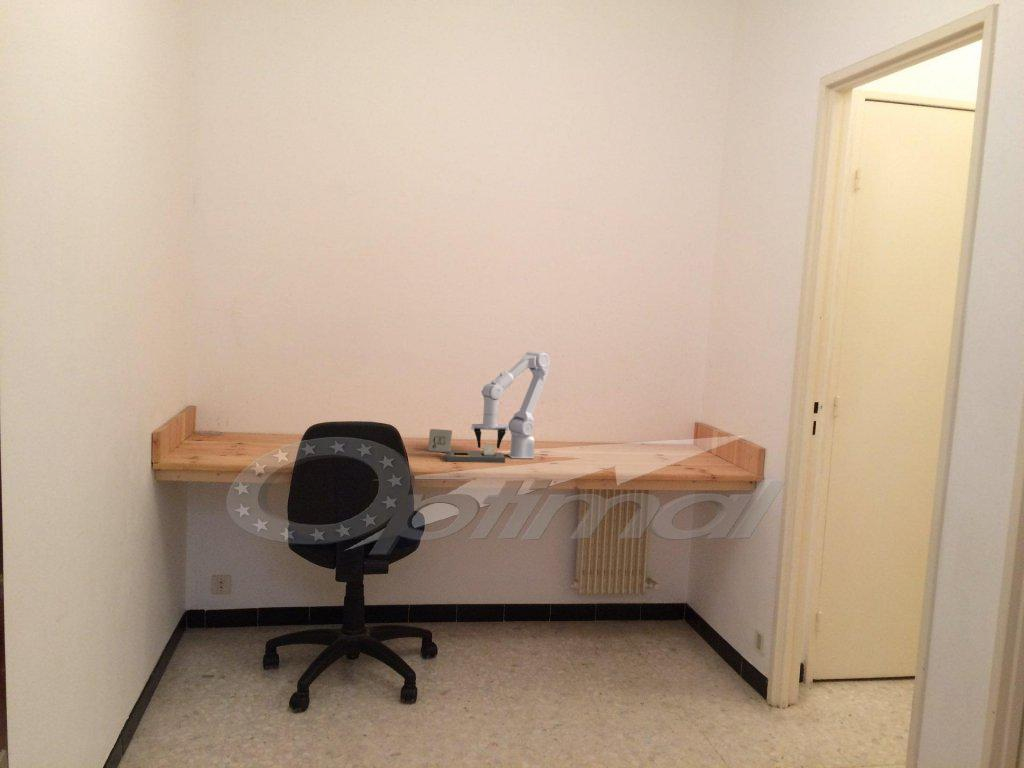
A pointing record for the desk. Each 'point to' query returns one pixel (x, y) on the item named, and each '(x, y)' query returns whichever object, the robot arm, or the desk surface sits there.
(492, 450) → the peg
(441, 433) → the electrical switch
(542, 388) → the robot arm
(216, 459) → the desk surface
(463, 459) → the grey board with holes
